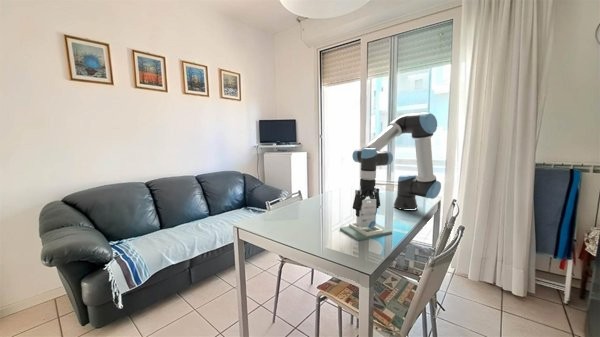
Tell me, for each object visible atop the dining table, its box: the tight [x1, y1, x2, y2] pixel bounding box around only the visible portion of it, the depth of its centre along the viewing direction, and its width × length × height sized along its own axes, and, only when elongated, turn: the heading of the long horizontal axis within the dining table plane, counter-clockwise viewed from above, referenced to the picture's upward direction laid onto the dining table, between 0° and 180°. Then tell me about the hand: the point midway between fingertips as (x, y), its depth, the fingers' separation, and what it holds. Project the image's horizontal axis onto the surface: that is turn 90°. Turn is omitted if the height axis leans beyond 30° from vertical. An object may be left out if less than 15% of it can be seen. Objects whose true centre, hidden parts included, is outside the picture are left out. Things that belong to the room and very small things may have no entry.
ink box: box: [357, 198, 377, 228], centre depth 128 cm, size 9×5×15 cm, turn 106°
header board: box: [339, 221, 393, 242], centre depth 129 cm, size 22×15×3 cm
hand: (366, 220), depth 129 cm, fingers closed on ink box, 9 cm apart
